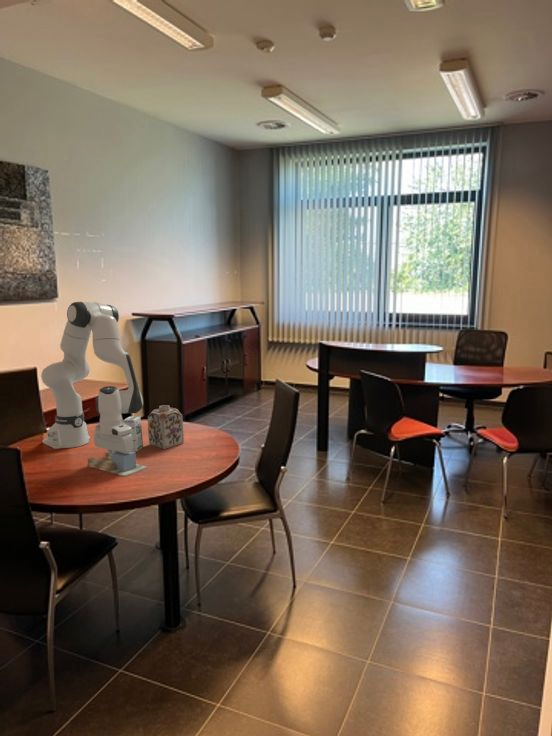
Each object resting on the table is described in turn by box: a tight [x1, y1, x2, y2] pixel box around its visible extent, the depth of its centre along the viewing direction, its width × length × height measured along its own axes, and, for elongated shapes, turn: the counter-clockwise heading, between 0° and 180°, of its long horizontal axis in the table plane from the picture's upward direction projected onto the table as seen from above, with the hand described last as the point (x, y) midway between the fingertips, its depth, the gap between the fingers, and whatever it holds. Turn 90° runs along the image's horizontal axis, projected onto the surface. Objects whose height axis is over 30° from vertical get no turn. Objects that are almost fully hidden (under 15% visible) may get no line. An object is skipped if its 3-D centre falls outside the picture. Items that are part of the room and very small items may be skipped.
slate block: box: [112, 451, 137, 471], centre depth 213 cm, size 7×6×6 cm
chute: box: [87, 451, 148, 477], centre depth 216 cm, size 23×11×3 cm, turn 56°
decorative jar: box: [147, 404, 185, 450], centre depth 243 cm, size 12×12×18 cm
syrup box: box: [123, 415, 144, 452], centre depth 237 cm, size 6×6×14 cm
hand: (114, 460), depth 216 cm, fingers closed
